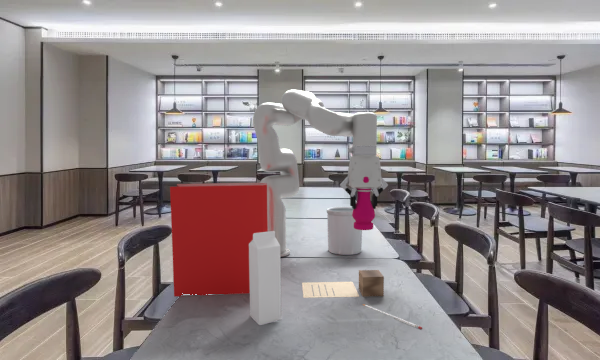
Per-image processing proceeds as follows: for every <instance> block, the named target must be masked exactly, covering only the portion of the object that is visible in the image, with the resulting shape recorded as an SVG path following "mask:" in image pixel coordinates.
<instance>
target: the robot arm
mask: <svg viewBox="0 0 600 360" xmlns="http://www.w3.org/2000/svg"><path fill="white" fill-rule="evenodd" d="M302 120H304V121H306V122H307V123H308V124H309V125H310V126H311V127H312V128H313V129H315V130H317V131H319V132H321V133H323V134H325V135H327V136H331V137H346V138H347V137H349V138H350V137H352V146H351V147H350V148H347V153H350V154H351V155H352V156H350V157H349V161H348V170H347V176H346V177H345V178H344V180H343V181H342V182H341V183H340V184H339V186H340V188H342V189H343V190H344V191H345V192H346V193H347V194H348V195H349V196H350V197H349V202H350V203H349V205H350V206H349V207H352V208H353V209H356V202H357V197H356V195H355V194H356V193H357V191H356V189H357V188H371V190H372V191H371V192H372V195H370V200H371V204H372V206H373V208H374V210H376V208H377V206H378V197H379V195H381V193H382V192H383V191H384V190H385V189H386V188H387V187H388V186H389V184H388V183H387V182H386V181H385V179H384V178H383V177H382V171H381V169H382V168H381V167H382V166H381V162H380V161H381V160H380V156H378V155H377V144H378V143H377V141H378V140H377V136H378V135H377V134H378V132H377V131H378V130H377V129H378V117H377V115H376V113H374V112H372V111H371V112H370V111H365V112H362V111H361V112H356V113H346V112H335V111H332V110H329V109H327V108H325V106H324V102H323V101H322V100H321V99H319V98H317V97H316V95H315V94H314V93H313V92H310V91H306V90H300V89H289V90H287V91H285V92H284V93H283V94H282V96H281V99H280V103H277V102H276V103H275V102H263V103H260V104H259V105H258V106H257V107H256V108H255V111H254V113H253V118H252V122H253V124H252V125H253V127H254V128H253V129H254V132H255V136H256V140H257V150H258V151H257V152H258V157H259V165H260V168H261V170H262V171H263V172H266V173H280V174H277V175H276V174H275V175H268V176H265V177H264V178H262V179H261V180H260V182H259V183H267V219H268V232H269V231H275V237H276V239H277V241H278V243H279V244H280V258H283V257H287V256H288V255H290V254H291V250H290V249H289V248H288V247H287V216H286V214H287V211H286V206H285V204H284V202H283V201H282V199H287V198H293V197H295V196H296V195H297V194H299V191H300V178H299V177H300V176H299V170H298V169H299V168H298V162H297V161H298V160H297V157H296V155H295V153H294V152H293V151H292V150H291V149H288V148H281V147H280V143H279V142H280V140H279V136H278V133H277V132H276V130H275V129H274V127H273V126H287V127H289V126H290V127H291V126H293V125H296V124H297V123H299V122H300V121H302ZM364 177H368V178H369V179H370V180H369V182H368V183H364V182H363V180H362V179H363V178H364ZM347 185H348V186H349V187H351V188H349V187H348V186H347Z"/></svg>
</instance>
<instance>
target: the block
mask: <svg viewBox="0 0 600 360" xmlns="http://www.w3.org/2000/svg"><path fill="white" fill-rule="evenodd" d="M384 285H385V277H384V275H383V274H382V272H381V271H380V270H379V269H365V270H364V269H363V270H361V269H359V270H358V290H359V292H360V295H361V296H362V297H368V298H369V297H384V293H385V286H384Z"/></svg>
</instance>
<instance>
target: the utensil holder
mask: <svg viewBox="0 0 600 360" xmlns="http://www.w3.org/2000/svg"><path fill="white" fill-rule="evenodd" d="M326 213H327V218H326V219H327V249H328V252H330V253H332V254H334V255H342V256H343V255H344V256H345V255H346V256H348V255H351V256H352V255H357V254H358V255H359V254H360V253H361V252H362V245H363V230H357V229H355V228H354V222H356V221H355V220H354V218H353V216H352V213H353V208H352V206H332V207H328V208H326Z"/></svg>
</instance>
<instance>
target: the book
mask: <svg viewBox="0 0 600 360" xmlns="http://www.w3.org/2000/svg"><path fill="white" fill-rule="evenodd" d="M169 192H170V193H169V194H170V197H169V198H170V218H171V219H170V221H171V223H170V224H171V243H172V244H171V247H172V248H171V249H172V251H171V252H172V272H173V296H174V297H182V296H181V295H183V294H190V295H192V294H193V295H195V294H197V295H200V296H209V295H208V294H224V295H240V294H241V295H242V294H243V295H244V294H245V295H246V294H250V281H249V243H250V242H251V241H252V240H253V234H254V233H261V232H268V219H267V183H260V182H227V183H224V182H221V183H219V182H218V183H217V182H216V183H215V182H214V183H177V184H176V186H169ZM182 293H183V294H182ZM206 294H207V295H206Z"/></svg>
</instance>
